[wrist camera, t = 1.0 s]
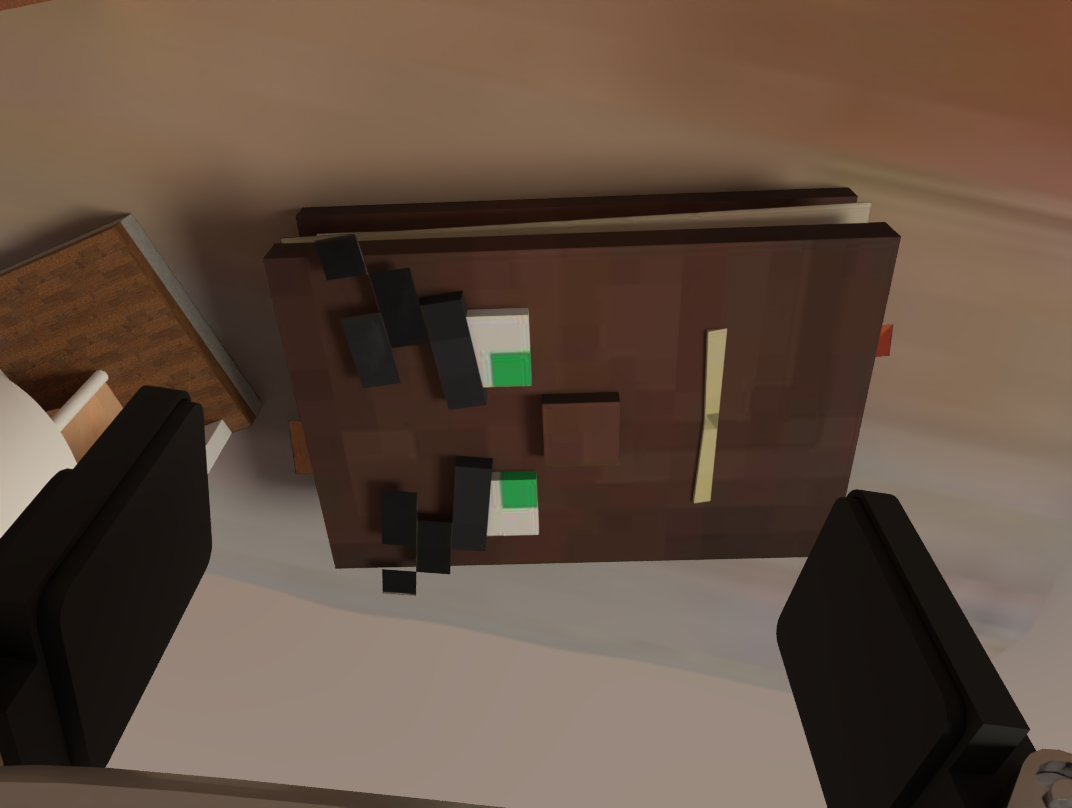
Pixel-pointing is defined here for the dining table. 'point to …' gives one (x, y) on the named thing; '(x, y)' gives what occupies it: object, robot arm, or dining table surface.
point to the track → (17, 3)
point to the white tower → (99, 355)
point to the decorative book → (580, 374)
